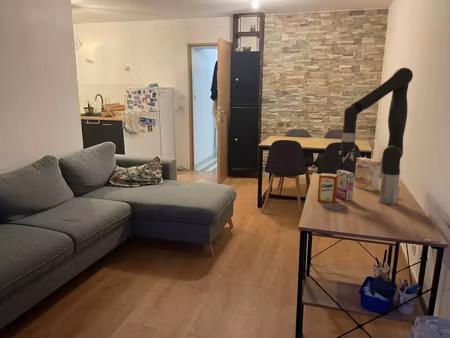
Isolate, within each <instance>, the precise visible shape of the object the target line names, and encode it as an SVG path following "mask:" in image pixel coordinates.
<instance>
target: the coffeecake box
mask: <svg viewBox="0 0 450 338" xmlns="http://www.w3.org/2000/svg"><path fill="white" fill-rule="evenodd" d="M381 169H382V160H377V159H371V158H369V157H368V158H367V157H356V159H355V171H354V185H353V187H357V188H360V189H364V190H366V191H370V192H373V191H375V192H376V191H379V186H380V185H379V184H380V175H381Z"/></svg>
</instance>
